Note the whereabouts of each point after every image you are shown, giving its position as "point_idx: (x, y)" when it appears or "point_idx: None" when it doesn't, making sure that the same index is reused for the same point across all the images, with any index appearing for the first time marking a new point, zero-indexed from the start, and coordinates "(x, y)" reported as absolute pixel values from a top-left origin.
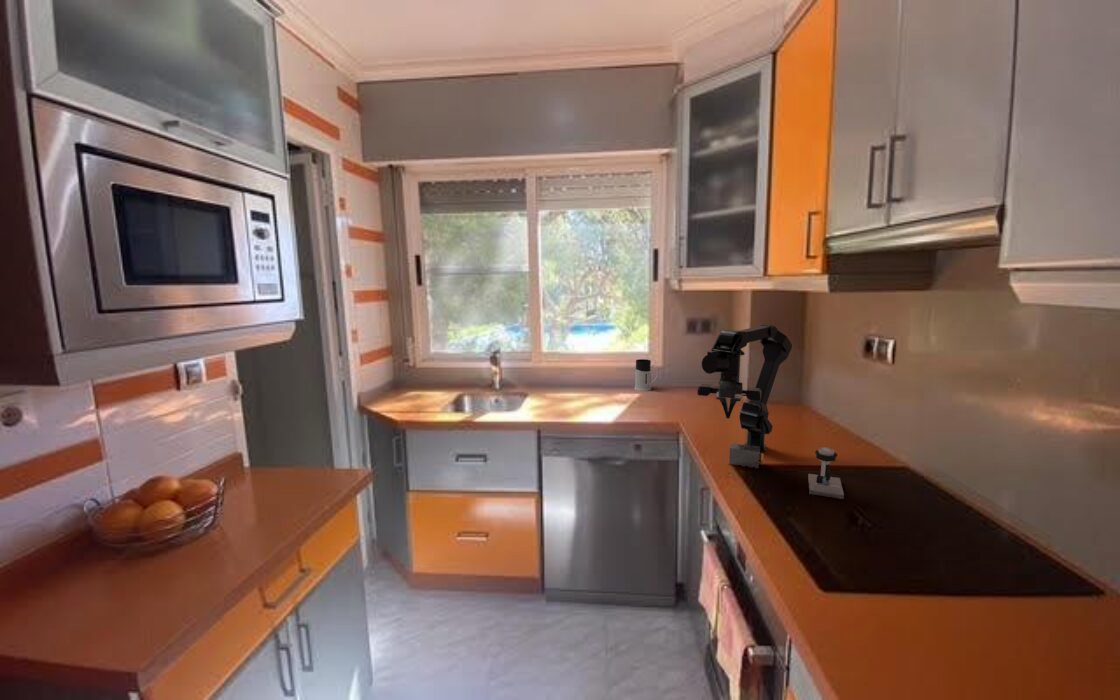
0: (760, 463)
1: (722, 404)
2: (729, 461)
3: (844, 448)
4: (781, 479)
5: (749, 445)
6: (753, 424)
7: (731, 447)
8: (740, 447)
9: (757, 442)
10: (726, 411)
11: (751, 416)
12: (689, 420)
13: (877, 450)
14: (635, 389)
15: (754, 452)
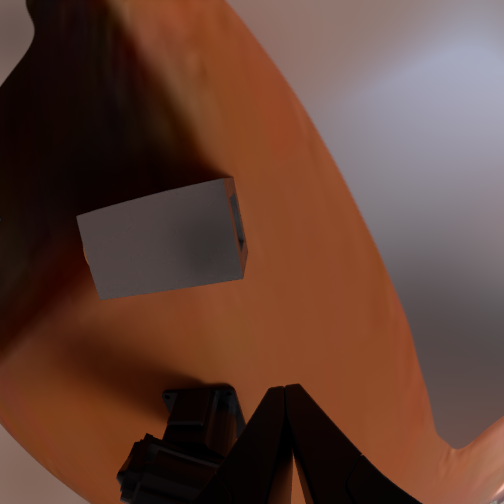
0: None
1: (406, 501)
2: (231, 177)
3: (56, 453)
4: (39, 149)
5: (146, 293)
6: (171, 462)
7: (218, 198)
8: (172, 229)
9: (178, 408)
10: (309, 435)
11: (179, 501)
12: (430, 478)
13: (26, 449)
14: (496, 500)
15: (98, 209)
